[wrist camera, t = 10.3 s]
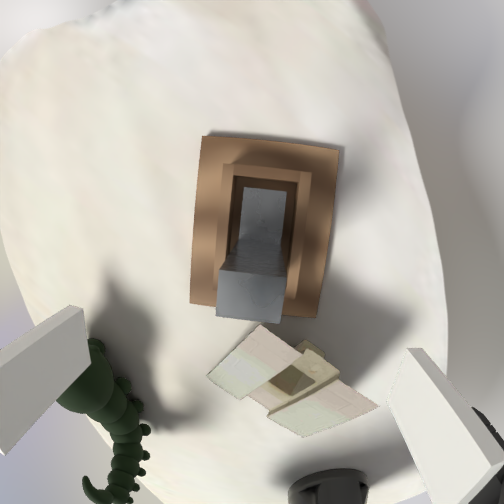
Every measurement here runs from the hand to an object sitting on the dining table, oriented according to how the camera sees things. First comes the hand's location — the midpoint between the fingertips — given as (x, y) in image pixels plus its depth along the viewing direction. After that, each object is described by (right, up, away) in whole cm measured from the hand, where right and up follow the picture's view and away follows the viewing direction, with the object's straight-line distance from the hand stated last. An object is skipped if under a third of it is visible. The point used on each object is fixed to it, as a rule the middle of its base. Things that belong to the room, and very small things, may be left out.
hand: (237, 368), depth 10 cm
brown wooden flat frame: (+2, +7, +20) cm, 22 cm away
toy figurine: (-19, -15, +26) cm, 36 cm away
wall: (+4, -11, +24) cm, 27 cm away
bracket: (+1, +7, +19) cm, 21 cm away
